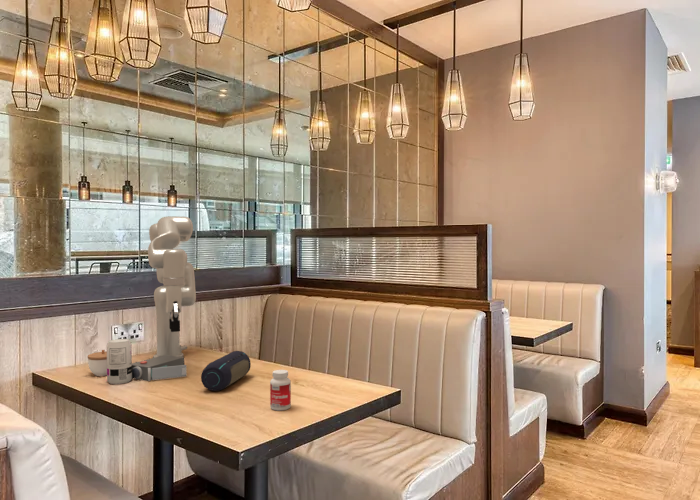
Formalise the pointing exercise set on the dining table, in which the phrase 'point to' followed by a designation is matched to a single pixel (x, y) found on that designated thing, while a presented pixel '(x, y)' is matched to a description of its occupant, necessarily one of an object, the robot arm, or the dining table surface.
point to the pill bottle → (280, 390)
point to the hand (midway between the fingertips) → (174, 329)
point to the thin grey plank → (168, 372)
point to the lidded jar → (98, 363)
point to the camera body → (153, 366)
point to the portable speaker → (225, 370)
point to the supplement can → (119, 361)
